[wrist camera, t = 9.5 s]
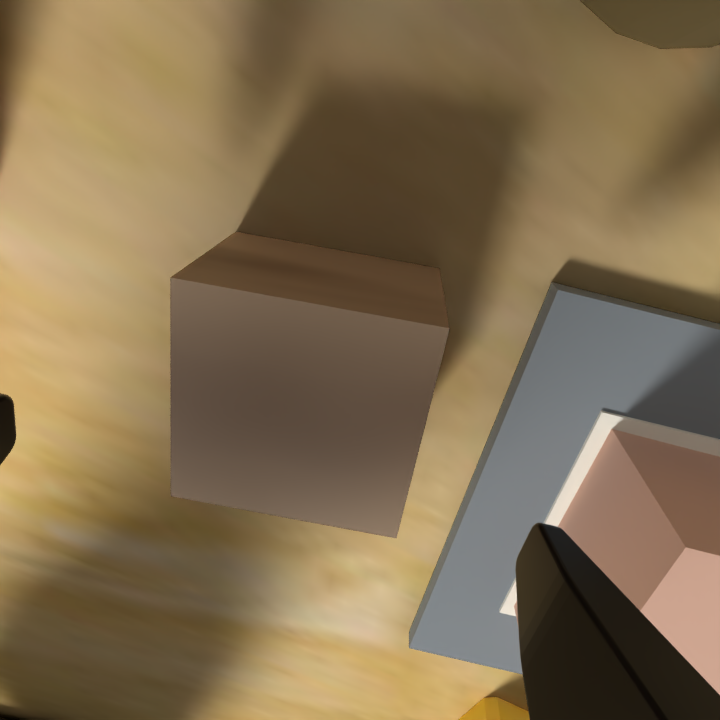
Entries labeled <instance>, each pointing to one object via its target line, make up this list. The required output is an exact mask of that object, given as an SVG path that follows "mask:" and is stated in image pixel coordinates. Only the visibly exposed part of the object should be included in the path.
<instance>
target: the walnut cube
mask: <svg viewBox="0 0 720 720" xmlns="http://www.w3.org/2000/svg"><path fill="white" fill-rule="evenodd" d="M170 280H171V496H172V497H178V498H183V499H189V500H194V501H199V502H205V503H210V504H215V505H221V506H226V507H231V508H237V509H242V510H247V511H253V512H258V513H264V514H269V515H274V516H280V517H285V518H290V519H296V520H301V521H306V522H312V523H317V524H322V525H328V526H333V527H339V528H344V529H349V530H355V531H360V532H365V533H371V534H376V535H381V536H387V537H392V538H397V534H398V530H399V526H400V522H401V518H402V514H403V510H404V506H405V502H406V498H407V495H408V491H409V487H410V483H411V479H412V475H413V471H414V467H415V463H416V459H417V455H418V451H419V447H420V444H421V440H422V436H423V432H424V428H425V424H426V420H427V416H428V412H429V408H430V404H431V400H432V396H433V392H434V389H435V385H436V381H437V377H438V373H439V369H440V365H441V361H442V357H443V353H444V349H445V345H446V341H447V337H448V334H449V330H450V327H449V321H448V315H447V309H446V304H445V298H444V292H443V286H442V280H441V275H440V269H439V268H436V267H430V266H424V265H419V264H413V263H408V262H402V261H397V260H391V259H386V258H380V257H374V256H369V255H363V254H358V253H352V252H347V251H341V250H336V249H330V248H324V247H319V246H313V245H308V244H302V243H297V242H291V241H286V240H280V239H274V238H269V237H263V236H258V235H252V234H247V233H241V232H235V233H233V234H232V235H231V236H229V237H228V238H226V239H225V240H223V241H222V242H221V243H219V244H218V245H216V246H215V247H213V248H212V249H211V250H209V251H208V252H206V253H205V254H203V255H202V256H201V257H199V258H198V259H196V260H195V261H194V262H192V263H191V264H189V265H188V266H186V267H185V268H184V269H182V270H181V271H179V272H178V273H176V274H175V275H174V276H172V277H171V278H170Z"/></svg>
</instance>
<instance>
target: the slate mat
mask: <svg viewBox="0 0 720 720" xmlns="http://www.w3.org/2000/svg"><path fill="white" fill-rule="evenodd" d="M611 429H614V430H618V431H622V432H626V433H630V434H633V435H637V436H641V437H645V438H649V439H653V440H657V441H661V442H664V443H668V444H672V445H676V446H680V447H684V448H688V449H692V450H695V451H699V452H703V453H707V454H711V455H715V456H719V457H720V324H719V323H715V322H710V321H706V320H702V319H698V318H694V317H690V316H686V315H682V314H678V313H674V312H670V311H666V310H662V309H658V308H654V307H650V306H646V305H642V304H638V303H634V302H630V301H626V300H622V299H618V298H614V297H610V296H606V295H602V294H598V293H594V292H590V291H586V290H582V289H578V288H574V287H570V286H566V285H562V284H558V283H554V282H552V283H551V285H550V288H549V290H548V293H547V295H546V298H545V300H544V302H543V305H542V307H541V310H540V312H539V315H538V317H537V320H536V322H535V324H534V327H533V329H532V332H531V334H530V337H529V339H528V342H527V344H526V347H525V349H524V351H523V354H522V356H521V359H520V361H519V364H518V366H517V369H516V371H515V374H514V376H513V378H512V381H511V383H510V386H509V388H508V391H507V393H506V396H505V398H504V400H503V403H502V405H501V408H500V410H499V413H498V415H497V418H496V420H495V423H494V425H493V427H492V430H491V432H490V435H489V437H488V440H487V442H486V445H485V447H484V450H483V452H482V454H481V457H480V459H479V462H478V464H477V467H476V469H475V472H474V474H473V477H472V479H471V481H470V484H469V486H468V489H467V491H466V494H465V496H464V499H463V501H462V503H461V506H460V508H459V511H458V513H457V516H456V518H455V521H454V523H453V526H452V528H451V530H450V533H449V535H448V538H447V540H446V543H445V545H444V548H443V550H442V553H441V555H440V557H439V560H438V562H437V565H436V567H435V570H434V572H433V575H432V577H431V580H430V582H429V584H428V587H427V589H426V592H425V594H424V597H423V599H422V602H421V604H420V606H419V609H418V611H417V614H416V616H415V619H414V621H413V624H412V626H411V629H410V631H409V648H411V649H416V650H420V651H424V652H428V653H433V654H437V655H441V656H446V657H450V658H454V659H459V660H463V661H467V662H471V663H476V664H480V665H484V666H489V667H493V668H497V669H502V670H506V671H510V672H515V673H519V674H522V667H521V659H520V648H519V631H518V623H517V618H516V614H515V609H514V605H515V603H516V601H517V592H516V572H515V567H516V560H517V557H518V554H519V552H520V550H521V548H522V546H523V544H524V542H525V540H526V538H527V536H528V534H529V532H530V530H531V528H532V527H533V525H534V524H536V523H539V522H540V523H545V524H549V525H553V526H557V527H558V525H559V523H560V522H561V520H562V518H563V516H564V514H565V513H566V511H567V509H568V507H569V505H570V503H571V502H572V500H573V498H574V496H575V494H576V493H577V491H578V489H579V487H580V485H581V483H582V482H583V480H584V478H585V476H586V474H587V473H588V471H589V469H590V467H591V465H592V464H593V462H594V460H595V458H596V456H597V454H598V453H599V451H600V449H601V447H602V445H603V444H604V442H605V440H606V438H607V436H608V434H609V433H610V431H611Z"/></svg>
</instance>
